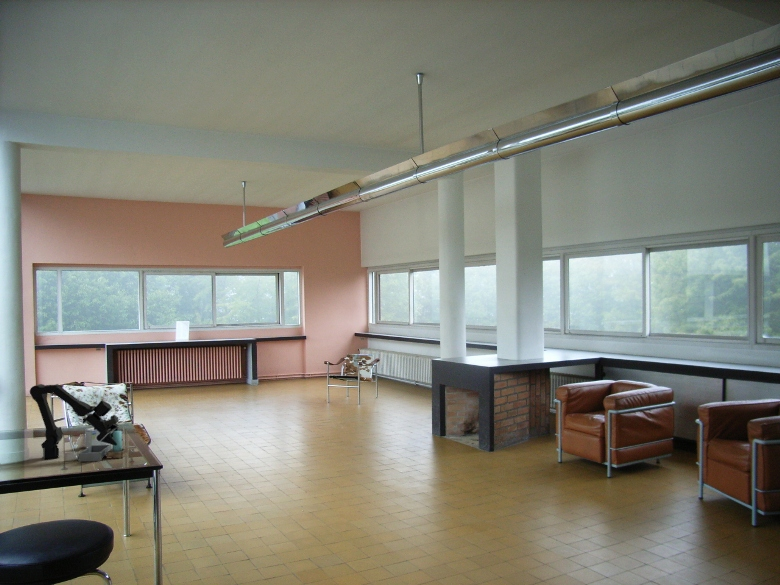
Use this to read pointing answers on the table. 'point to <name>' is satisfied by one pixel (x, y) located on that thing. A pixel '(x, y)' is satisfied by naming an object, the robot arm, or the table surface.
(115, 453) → the socket block
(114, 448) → the dowel
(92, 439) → the light bulb box
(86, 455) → the tray
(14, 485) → the table surface
